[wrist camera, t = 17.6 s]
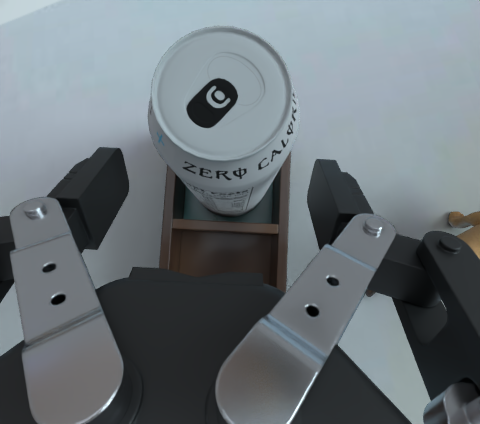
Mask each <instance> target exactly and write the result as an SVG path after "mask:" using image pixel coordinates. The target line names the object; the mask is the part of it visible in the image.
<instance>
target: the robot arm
mask: <svg viewBox="0 0 480 424" xmlns="http://www.w3.org/2000/svg"><path fill="white" fill-rule="evenodd" d="M128 192H129V180H128V175H127V171H126V167H125V162H124V158H123V154H122V151H121V149H120V148H107V147H99V148H98V149H97V150H96V152H95V153H94V154H93V155H92V156H91V157H90V158H87V159H85V160H83V161H81V162H79V163H78V164H76V165H75V166H74V167H73V168H72V169H71V170H70V171H69V173H68V174H67V175H66V176H65V177H64V179H62V180H61V181H60V182H59V183H58V185H57V186H56V187H55V188H54V189H53V190H52V191H51V192H50V193H49V194H48V195H47V197H39V198H34V199H30V200H27V201H25V202H23V203H21V204H19V205H17V206H16V207H15V208H14V209H13V210H12V211H11V213H10V216H4V217H0V303H1V301H2V300H3V298H4V297H5V295H6V294H7V292H8V291H9V289H10V288H11V286H12V285H13V284H14V282H15V288H16V293H17V299H18V305H19V311H20V317H21V323H22V328H23V334H24V340H23V341H21V342H20V343H19V344H17V345H16V346H14V347H13V348H11V349H10V350H9V351H7V352H6V353H4V354H3V355H2V356H0V424H412V423H411V422H410V421H409V420H408V419H407V418H406V417H405V416H404V415H403V414H402V412H401V411H400V410H399V409H398V408H397V407H396V406H395V405H394V404H393V403H392V402H391V401H390V400H389V399H388V398H387V397H386V396H385V395H384V393H383V392H382V391H381V390H380V389H379V388H378V387H377V386H376V385H375V384H374V383H373V382H372V381H371V380H370V379H369V378H368V377H367V376H366V374H365V373H364V372H363V371H362V370H361V369H360V368H359V367H358V366H357V365H356V364H355V363H354V362H353V361H352V360H351V359H350V358H349V357H348V356H347V354H346V353H345V352H344V351H343V350H342V349H341V348H340V347H339V346H338V343H339V341H340V339H341V337H342V335H343V333H344V332H345V330H346V328H347V326H348V324H349V322H350V320H351V319H352V317H353V315H354V313H355V311H356V310H357V308H358V306H359V304H360V302H361V300H362V299H363V297H364V295H365V293H366V291H367V289H368V290H371V291H374V292H377V293H380V294H384V295H387V296H390V297H392V299H393V302H394V305H395V307H396V310H397V313H398V315H399V318H400V320H401V323H402V326H403V328H404V331H405V334H406V336H407V339H408V342H409V344H410V347H411V349H412V352H413V355H414V357H415V360H416V363H417V365H418V368H419V371H420V373H421V376H422V378H423V381H424V384H425V386H426V389H427V392H428V394H429V397H430V400H431V402H430V403H428V404H427V406H426V407H425V410H424V414H423V421H424V424H480V259H479V258H478V256H477V255H476V254H475V252H474V251H473V250H472V248H471V247H470V246H469V245H468V244H467V243H466V242H464V241H463V240H462V239H460V238H458V237H456V236H454V235H452V234H449V233H446V232H441V231H431V232H428V233H426V234H425V236H424V237H423V239H422V241H420V240H416V239H412V238H409V237H405V236H401V235H398V234H396V230H395V228H394V226H393V225H392V224H391V223H390V222H389V221H387V220H386V219H384V218H382V217H380V216H378V215H374V213H373V211H372V209H371V207H370V206H369V204H368V202H367V200H366V198H365V196H364V195H363V192H362V191H361V189H360V187H359V185H358V183H357V181H356V179H354V178H353V177H352V176H351V175H349V174H348V173H347V172H341V170H340V168H339V166H338V164H337V162H336V160H326V159H317V160H316V161H315V164H314V168H313V172H312V176H311V180H310V185H309V189H308V195H307V203H308V208H309V211H310V215H311V219H312V223H313V227H314V230H315V234H316V238H317V242H318V246H319V249H320V251H319V253H318V254H317V255H316V256H315V258H314V259H313V260H312V261H311V262H310V264H309V265H308V266H307V267H306V269H305V270H304V271H303V272H302V274H301V275H300V276H299V277H298V278H297V280H296V281H295V282H294V283H293V285H292V286H291V287H290V288H289V290H288V291H287V292H286V293H285V292H283V291H281V290H279V289H278V288H276V287H273V286H270V285H268V284H264V283H263V273H245V272H227V273H221V274H214V275H208V276H202V277H194V276H190V275H186V274H183V273H179V272H175V271H172V270H168V269H161V268H140V267H133V268H132V271H131V273H130V276H129V277H128V278H123V279H119V280H116V281H113V282H110V283H108V284H106V285H103V286H101V287H99V288H98V289H95V286H94V284H93V282H92V279H91V277H90V274H89V272H88V269H87V267H86V265H85V262H84V260H83V257H82V255H81V254H82V252H83V250H84V249H93V250H97V249H98V248H99V246H100V244H101V242H102V240H103V239H104V237H105V235H106V233H107V231H108V229H109V228H110V226H111V224H112V222H113V220H114V219H115V217H116V215H117V213H118V211H119V210H120V208H121V206H122V204H123V202H124V200H125V199H126V197H127V195H128ZM441 299H442V301H443V303H444V305H445V307H446V309H445V307H444V305H443V303H442V301H441ZM446 310H447V311H446Z"/></svg>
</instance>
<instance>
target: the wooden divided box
mask: <svg viewBox="0 0 480 424" xmlns="http://www.w3.org/2000/svg"><path fill="white" fill-rule="evenodd" d="M290 163H291V151H290V153H289V154H288V156H287V158H286V159H285V161H284V163H283V164H282V166H281V168H280V170H279V171H278V173H277V175H276V176H275V178H274V180H273V181H272V183H271V185H270V186H269V188H268V190H267V191H266V193H265V195H264V196H263V198H262V200H261V201H260V202H259V204H258V205H257V206H256V207H255V208H254V209H252V210H251V211H249V212H248V213H246V214H243V215H240V216H235V217H224V216H220V215H217V214H215V213H213V212H211V211H209V210H208V209H207V208H205V207H204V206H203V205H202V203H201V202H200V201H199V200H198V199H197V198H196V197H195V195H194V194H193V193H192V192H191V191H190V190H189V189H188V187H187V186H186V185H185V184H184V183H183V182H182V180H181V179H180V178H179V177H178V176H177V175H176V174H175V172H174V171H173V170H172V169H171V168H170V167H169V166H168V164H167V174H166V186H165V199H164V211H163V224H162V236H161V249H160V261H159V268H161V269H168V270H172V271H175V272H179V273H183V274H186V275H190V276H194V277H202V276H208V275H214V274H221V273H227V272H245V273H263V283H264V284H268V285H270V286H273V287H276V288H278V289H279V290H281V291H283V292H285V293H286V282H287V252H288V222H289V192H290Z"/></svg>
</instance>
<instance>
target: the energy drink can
mask: <svg viewBox="0 0 480 424" xmlns="http://www.w3.org/2000/svg"><path fill="white" fill-rule="evenodd" d="M299 120H300V109H299V103H298V98H297V95H296V92H295V90H294V87H293V84H292V81H291V76H290V73H289V71H288V68H287V66H286V63H285V62H284V60H283V59H282V57H281V56H280V54H279V53H278V52H277V51H276V50H275V48H274V47H273V46H272V45H271V44H270V43H268V42H267V41H266V40H264V39H263V38H261V37H260V36H258V35H256V34H254V33H252V32H250V31H248V30H245V29H241V28H237V27H231V26H214V27H206V28H203V29H200V30H196V31H193V32H191V33H189V34H188V35H186V36H184V37H182V38H181V39H179V40H178V41H177V42H176V43H174V44H173V45H172V46H171V47H170V48H169V49H168V50H167V52H166V53H165V54H164V55H163V56H162V58H161V60H160V62H159V64H158V65H157V67H156V70H155V73H154V76H153V79H152V86H151V98H150V101H149V109H148V123H149V131H150V134H151V137H152V140H153V143H154V145H155V147H156V149H157V151H158V152H159V154H160V156H161V157H162V159H163V160H164V161H165V162H166V163H167V164H168V166H169V167H170V168H171V169H172V170H173V171H174V172H175V174H176V175H177V176H178V177H179V178H180V179H181V180H182V182H183V183H184V184H185V185H186V186H187V187H188V189H189V190H190V191H191V192H192V193H193V194H194V195H195V197H196V198H197V199H198V200H199V201H200V202H201V203H202V205H203V206H204V207H205V208H207V209H208V210H209V211H211V212H213V213H215V214H217V215H220V216H224V217H235V216H240V215H243V214H246V213H248V212H249V211H251V210H252V209H254V208H255V207H256V206H257V205H258V204H259V202H260V201H261V200H262V198H263V196H264V195H265V193H266V191H267V190H268V188H269V186H270V185H271V183H272V181H273V180H274V178H275V176H276V175H277V173H278V171H279V170H280V168H281V166H282V164H283V163H284V161H285V159H286V158H287V156H288V154H289V153H290V151H291V149H292V146H293V144H294V142H295V140H296V137H297V133H298V129H299Z"/></svg>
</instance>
